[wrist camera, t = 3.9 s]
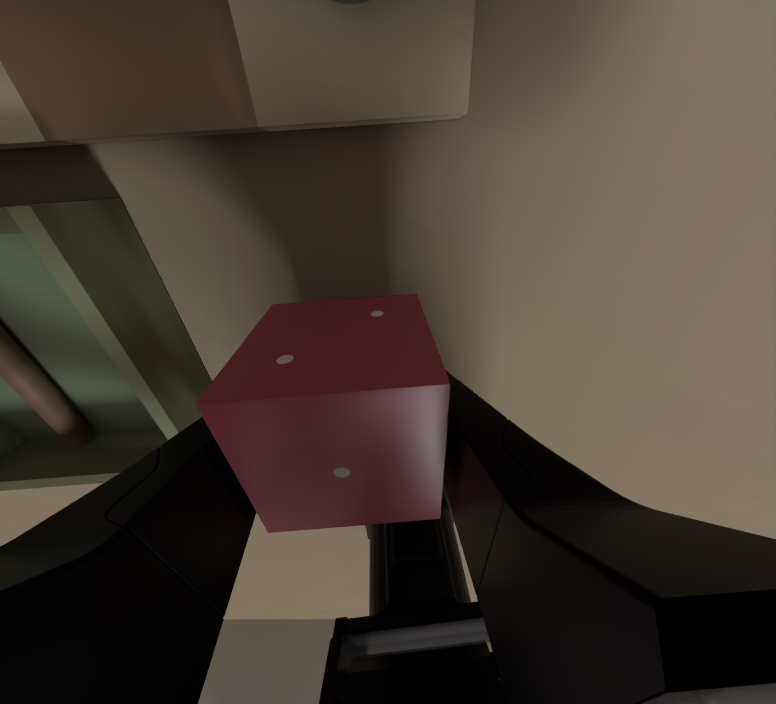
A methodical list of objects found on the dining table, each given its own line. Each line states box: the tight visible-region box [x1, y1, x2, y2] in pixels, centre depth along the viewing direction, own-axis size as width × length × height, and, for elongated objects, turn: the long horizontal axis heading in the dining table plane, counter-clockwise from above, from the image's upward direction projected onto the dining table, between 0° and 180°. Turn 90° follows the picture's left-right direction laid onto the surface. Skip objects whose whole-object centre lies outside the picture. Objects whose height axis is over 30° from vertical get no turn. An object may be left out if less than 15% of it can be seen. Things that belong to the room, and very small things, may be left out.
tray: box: [0, 198, 212, 491], centre depth 11 cm, size 11×11×3 cm
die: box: [195, 294, 450, 533], centre depth 8 cm, size 4×4×5 cm
